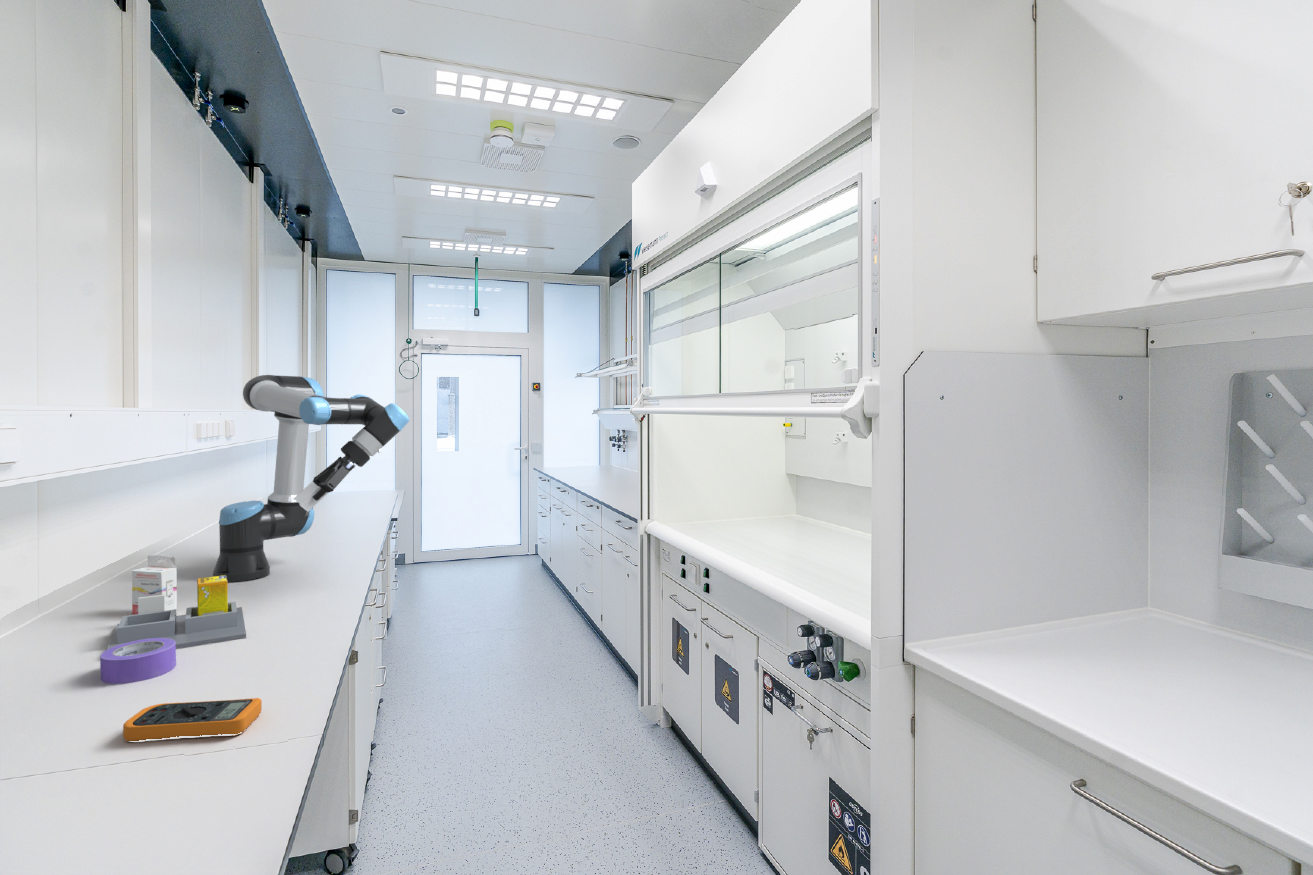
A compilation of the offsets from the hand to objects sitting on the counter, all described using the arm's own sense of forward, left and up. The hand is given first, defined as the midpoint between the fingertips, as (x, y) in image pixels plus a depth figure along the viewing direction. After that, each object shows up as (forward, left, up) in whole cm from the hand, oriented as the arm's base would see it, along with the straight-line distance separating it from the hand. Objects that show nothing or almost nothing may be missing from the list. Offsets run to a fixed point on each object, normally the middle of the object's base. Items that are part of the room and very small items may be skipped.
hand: (300, 505), depth 170 cm
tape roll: (+31, -32, -28) cm, 52 cm away
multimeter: (+65, -22, -28) cm, 74 cm away
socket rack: (+8, -26, -28) cm, 39 cm away
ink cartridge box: (-13, -32, -28) cm, 44 cm away
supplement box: (+8, -19, -27) cm, 34 cm away
